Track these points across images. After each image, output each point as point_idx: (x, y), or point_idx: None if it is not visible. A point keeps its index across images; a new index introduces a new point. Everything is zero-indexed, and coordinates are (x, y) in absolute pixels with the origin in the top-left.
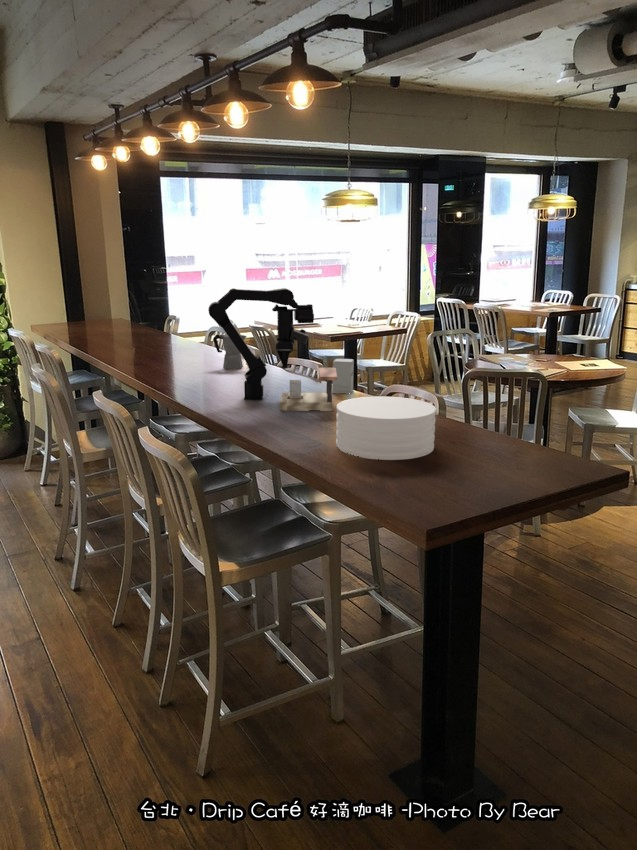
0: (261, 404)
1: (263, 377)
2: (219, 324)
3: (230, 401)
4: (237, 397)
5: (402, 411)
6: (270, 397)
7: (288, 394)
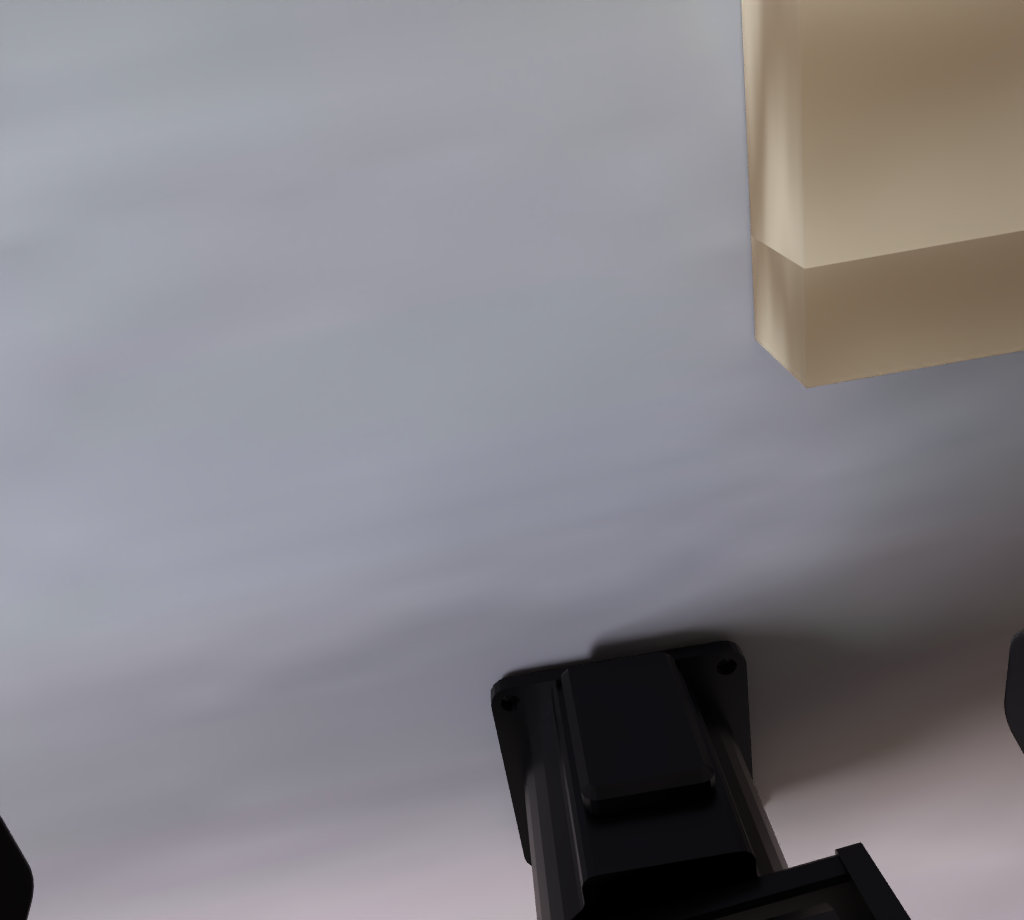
0: (1013, 566)
1: (828, 905)
2: None
3: None
4: None
5: None
6: (541, 561)
7: (986, 228)
